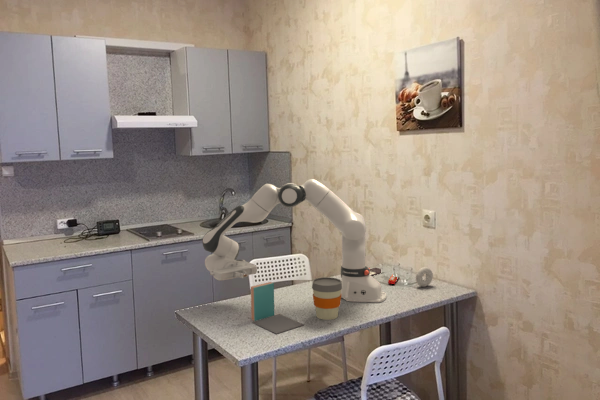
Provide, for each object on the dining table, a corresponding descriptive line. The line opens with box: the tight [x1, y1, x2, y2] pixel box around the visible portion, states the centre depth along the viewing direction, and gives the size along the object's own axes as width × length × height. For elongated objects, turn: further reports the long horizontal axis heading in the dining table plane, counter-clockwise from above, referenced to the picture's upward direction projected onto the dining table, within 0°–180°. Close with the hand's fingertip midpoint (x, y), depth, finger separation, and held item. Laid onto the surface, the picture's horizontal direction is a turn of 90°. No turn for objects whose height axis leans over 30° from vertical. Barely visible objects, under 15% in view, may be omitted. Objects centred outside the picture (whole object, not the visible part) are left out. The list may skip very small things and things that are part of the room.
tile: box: [250, 281, 275, 322], centre depth 209 cm, size 2×10×14 cm, turn 130°
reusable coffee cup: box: [311, 276, 342, 321], centre depth 210 cm, size 13×13×15 cm
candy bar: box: [387, 274, 398, 285], centre depth 261 cm, size 16×4×3 cm, turn 159°
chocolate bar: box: [369, 267, 382, 277], centre depth 277 cm, size 9×1×18 cm
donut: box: [415, 266, 434, 288], centre depth 250 cm, size 10×4×10 cm, turn 117°
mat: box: [252, 313, 305, 335], centre depth 202 cm, size 16×14×1 cm
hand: (245, 275), depth 217 cm, fingers closed
